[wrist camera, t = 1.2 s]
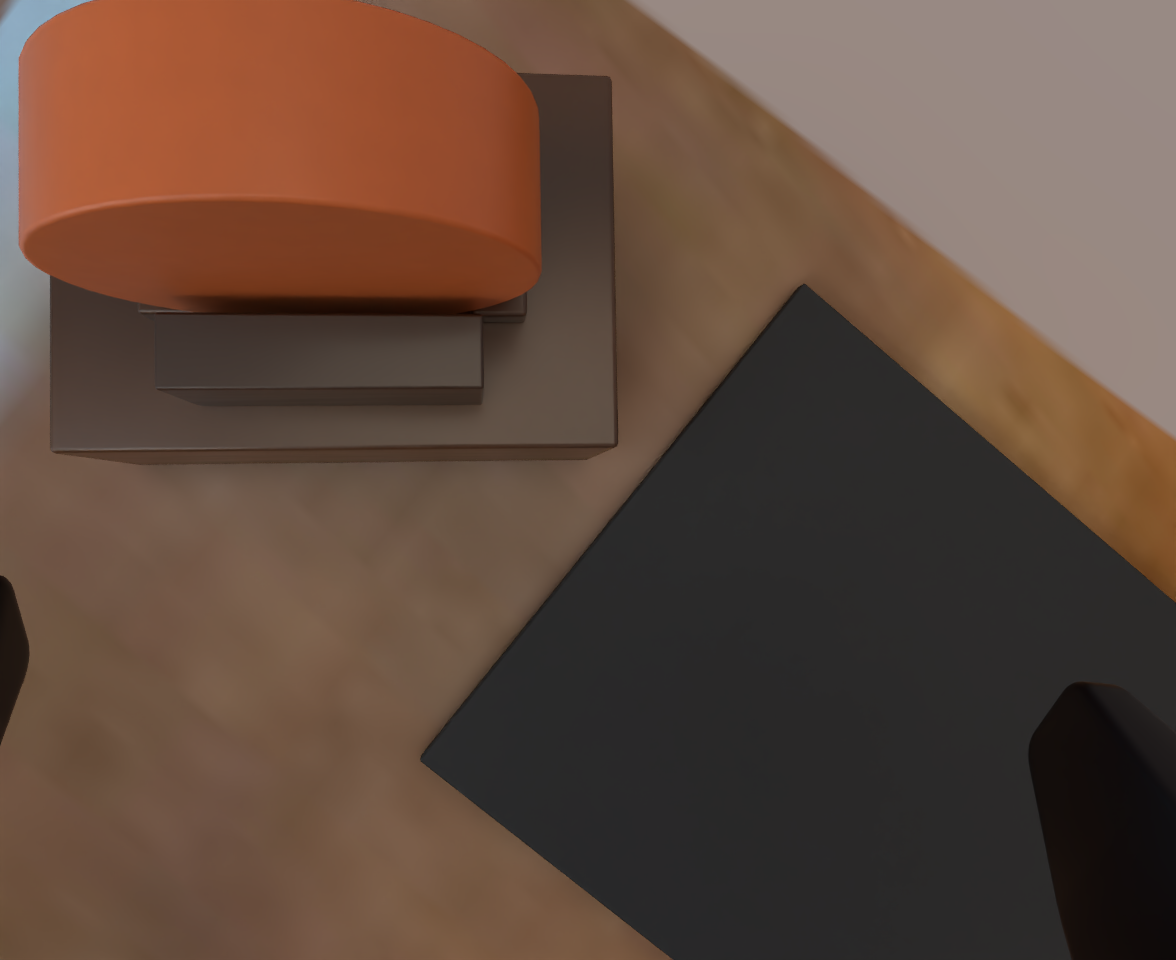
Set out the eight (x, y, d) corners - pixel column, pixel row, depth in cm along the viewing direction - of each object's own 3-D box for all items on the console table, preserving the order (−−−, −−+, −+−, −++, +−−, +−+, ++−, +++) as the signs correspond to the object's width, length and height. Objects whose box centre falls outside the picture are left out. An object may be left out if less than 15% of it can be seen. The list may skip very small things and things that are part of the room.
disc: (536, 321, 18) (550, 201, 11) (141, 322, 17) (-111, 197, 10) (533, 191, 18) (546, -11, 11) (140, 188, 17) (-111, -26, 10)
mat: (1395, 799, 25) (1410, 804, 24) (1074, 1270, 23) (1085, 1284, 23) (799, 286, 23) (804, 282, 23) (420, 756, 22) (419, 761, 22)
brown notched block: (590, 459, 23) (641, 438, 16) (136, 464, 21) (-22, 443, 15) (584, 159, 23) (633, 9, 16) (135, 148, 22) (-22, -19, 15)
